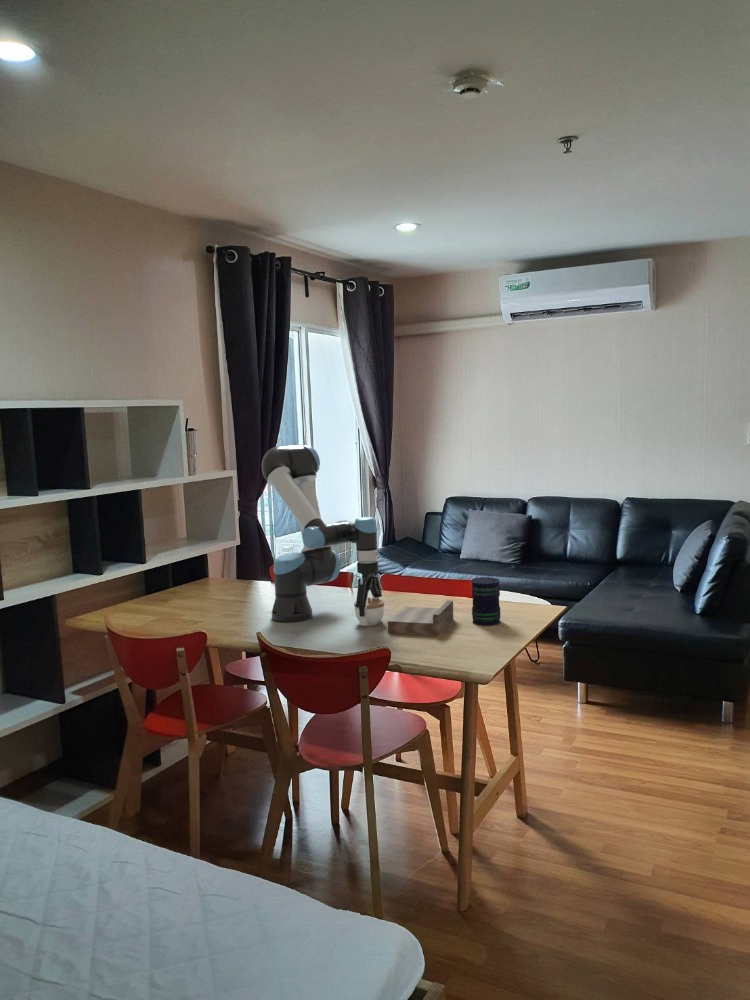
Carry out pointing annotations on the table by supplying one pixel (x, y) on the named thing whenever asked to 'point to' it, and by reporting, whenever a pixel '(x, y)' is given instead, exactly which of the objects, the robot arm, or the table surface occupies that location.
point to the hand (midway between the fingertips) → (370, 620)
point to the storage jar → (485, 601)
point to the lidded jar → (372, 611)
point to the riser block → (422, 620)
